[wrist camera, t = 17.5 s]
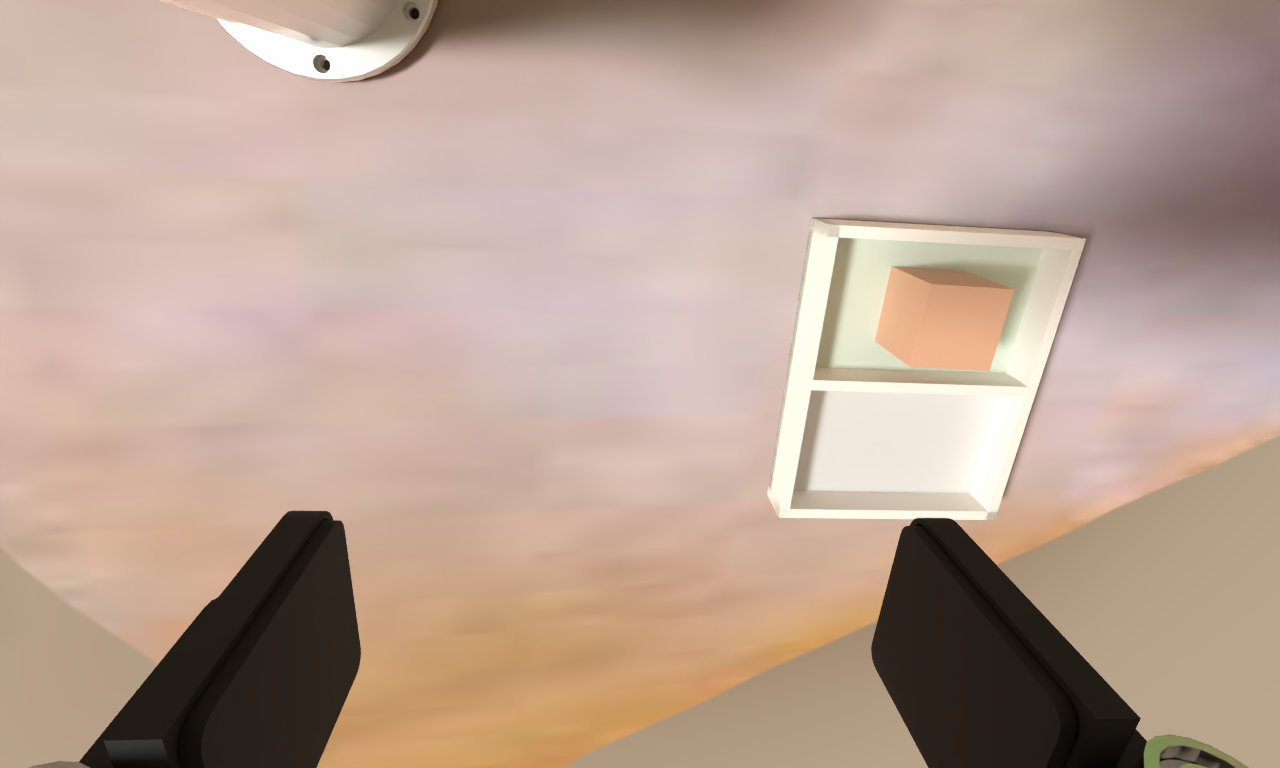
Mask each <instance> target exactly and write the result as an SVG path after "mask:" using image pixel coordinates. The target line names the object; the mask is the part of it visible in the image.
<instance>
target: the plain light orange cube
mask: <svg viewBox="0 0 1280 768" xmlns="http://www.w3.org/2000/svg"><path fill="white" fill-rule="evenodd" d="M1013 293H1014V289H1012V288H1010V287H1007V286H1004V285H1001V284H999V283H996V282H993V281H991V280H988V279H985V278H982V277H980V276H977V275H974V274H971V273H969V272H966V271H954V270H938V269H923V268H907V267H892V266H891V271H890V275H889V280H888V284H887V288H886V293H885V297H884V302H883V306H882V310H881V315H880V319H879V323H878V328H877V332H876V337H875V342H876V343H878V344H879V345H880V346H882V347H883V348H885V349H886V350H887V351H889V352H890V353H891V354H893V355H894V356H896V357H897V358H898V359H900V360H901V361H902V362H904V363H905V364H906V365H908V366H909V367H914V368H935V369H955V370H976V371H990V368H991V365H992V361H993V358H994V355H995V352H996V348H997V345H998V342H999V339H1000V335H1001V332H1002V329H1003V325H1004V322H1005V319H1006V316H1007V312H1008V309H1009V306H1010V303H1011V299H1012V296H1013Z"/></svg>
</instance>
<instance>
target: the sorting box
mask: <svg viewBox="0 0 1280 768" xmlns="http://www.w3.org/2000/svg"><path fill="white" fill-rule="evenodd" d="M1085 241H1086V239H1084V238H1080V237H1075V236H1070V235H1066V234H1061V233H1056V232H1050V231H1033V230H1015V229H998V228H980V227H962V226H945V225H927V224H910V223H892V222H875V221H857V220H839V219H822V218H812V220H811V226H810V233H809V239H808V245H807V251H806V257H805V263H804V270H803V276H802V282H801V288H800V294H799V301H798V307H797V313H796V319H795V325H794V332H793V338H792V344H791V350H790V356H789V363H788V369H787V375H786V381H785V387H784V394H783V400H782V406H781V412H780V418H779V424H778V431H777V437H776V443H775V449H774V455H773V462H772V468H771V474H770V480H769V486H768V493H767V495H768V497H769V499H770V501H771V503H772V505H773V507H774V509H775V511H776V513H777V515H778V517H779V518H863V519H916V518H950V519H956V520H995V518H996V514H997V511H998V508H999V505H1000V502H1001V499H1002V496H1003V493H1004V490H1005V487H1006V484H1007V481H1008V478H1009V475H1010V471H1011V468H1012V465H1013V462H1014V459H1015V456H1016V453H1017V450H1018V447H1019V444H1020V441H1021V438H1022V435H1023V432H1024V428H1025V425H1026V422H1027V419H1028V416H1029V413H1030V410H1031V407H1032V404H1033V401H1034V398H1035V395H1036V392H1037V389H1038V386H1039V382H1040V379H1041V376H1042V373H1043V370H1044V367H1045V364H1046V361H1047V358H1048V355H1049V352H1050V349H1051V346H1052V343H1053V339H1054V336H1055V333H1056V330H1057V327H1058V324H1059V321H1060V318H1061V315H1062V312H1063V309H1064V306H1065V303H1066V300H1067V297H1068V293H1069V290H1070V287H1071V284H1072V281H1073V278H1074V275H1075V272H1076V269H1077V266H1078V263H1079V260H1080V257H1081V254H1082V250H1083V247H1084V244H1085ZM891 266H892V267H907V268H923V269H938V270H954V271H966V272H969V273H971V274H974V275H977V276H980V277H982V278H985V279H988V280H991V281H993V282H996V283H999V284H1001V285H1004V286H1007V287H1010V288H1012V289H1014V293H1013V296H1012V299H1011V303H1010V306H1009V309H1008V312H1007V316H1006V319H1005V322H1004V325H1003V329H1002V332H1001V335H1000V339H999V342H998V345H997V348H996V352H995V355H994V358H993V361H992V365H991V368H990V371H976V370H955V369H935V368H914V367H909V366H908V365H906V364H905V363H904V362H902V361H901V360H900V359H898V358H897V357H896V356H894V355H893V354H891V353H890V352H889V351H887V350H886V349H885V348H883V347H882V346H880V345H879V344H878V343H876V342H875V337H876V332H877V328H878V323H879V319H880V315H881V310H882V306H883V302H884V297H885V293H886V288H887V284H888V280H889V275H890V271H891Z"/></svg>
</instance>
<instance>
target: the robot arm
mask: <svg viewBox="0 0 1280 768" xmlns="http://www.w3.org/2000/svg"><path fill="white" fill-rule="evenodd" d="M158 1H161V2H164V3H168V4H171V5H174V6H177V7H181V8H184V9H187V10H190V11H194V12H197V13H200V14H203V15H207V16H210V17H213V18H215V19H216V20H217V21H218V22H219V24H220V25H221V26H222V27H223V28H224V30H225V31H226V32H227V33H228V34H229V35H231V36H232V37H233V38H234V39H235V40H236V41H237V42H239V43H240V44H241V45H242V46H243V47H244V48H245V49H247V50H248V51H249V52H251V53H252V54H254V55H255V56H257V57H259V58H260V59H262V60H263V61H265V62H267V63H268V64H270V65H271V66H274V67H276V68H279V69H281V70H283V71H286V72H288V73H291V74H293V75H296V76H300V77H304V78H308V79H312V80H319V81H327V82H348V81H359V80H362V79H365V78H369V77H372V76H375V75H378V74H380V73H382V72H384V71H386V70H387V69H389V68H391V67H393V66H394V65H396V64H398V63H399V62H400V61H401V60H402V59H403V58H404V57H405V56H406V55H408V54H409V53H410V52H411V51H412V50H413V49H414V48H415V46H416V45H417V44H418V42H419V41H420V39H421V38H422V36H423V35H424V33H425V32H426V31H427V29H428V26H429V24H430V22H431V19H432V17H433V15H434V12H435V10H436V8H437V3H438V0H158ZM413 9H418V10H419V13H420V14H419V17H418V18H417V19H413V18H412V16H411V12H412V10H413ZM327 60H328V61H329V62H330V64H331V65H330V70H328V71H327V70H326V69H325V68H324V62H325V61H327ZM871 649H872V650H871V651H872V659H873V663H874V666H875V668H876V670H877V672H878V674H879V676H880V678H881V679H882V681H883V683H884V685H885V687H886V689H887V691H888V692H889V694H890V696H891V698H892V700H893V702H894V704H895V705H896V707H897V709H898V711H899V713H900V715H901V717H902V719H903V721H904V723H905V724H906V726H907V728H908V730H909V732H910V734H911V736H912V737H913V739H914V741H915V743H916V745H917V747H918V749H919V751H920V753H921V754H922V756H923V758H924V760H925V762H926V764H927V766H928V767H929V768H1248V767H1247V766H1245V765H1244V764H1242V763H1241V762H1239V761H1238V760H1236V759H1235V758H1233V757H1232V756H1230V755H1228V754H1226V753H1224V752H1222V751H1220V750H1218V749H1216V748H1214V747H1212V746H1210V745H1208V744H1205V743H1202V742H1199V741H1197V740H1193V739H1191V738H1188V737H1182V736H1176V735H1162V736H1155V737H1154V738H1152V739H1151V740H1149V741H1148V742H1147V741H1146V740H1145V739H1144V738H1143V737H1142V736H1141V734H1140V733H1139V732H1138V731H1137V730H1136V727H1137V725H1138V722H1139V721H1140V717H1139V716H1138V715H1137V714H1136V713H1135V712H1134V711H1133V710H1132V709H1131V708H1130V707H1129V706H1128V705H1127V703H1126V702H1125V701H1123V699H1121V697H1120V696H1119V695H1118V694H1117V693H1116V692H1115V691H1114V690H1113V689H1112V688H1111V687H1110V685H1108V683H1107V682H1106V681H1105V680H1104V679H1103V678H1102V677H1101V676H1100V675H1099V674H1098V673H1097V672H1096V671H1095V670H1094V668H1093V667H1091V665H1090V664H1089V663H1088V662H1087V661H1086V660H1085V659H1084V658H1083V657H1082V656H1081V655H1080V654H1079V652H1078V651H1077V650H1076V649H1075V648H1074V647H1073V646H1072V645H1071V644H1070V643H1069V642H1068V641H1067V640H1066V639H1065V638H1064V637H1063V636H1062V635H1061V633H1060V632H1059V631H1058V630H1057V629H1056V628H1055V627H1054V626H1053V625H1052V624H1051V623H1050V622H1049V621H1048V620H1047V618H1045V616H1044V615H1043V614H1042V613H1041V612H1040V611H1039V610H1038V609H1037V608H1036V607H1035V606H1034V605H1033V604H1032V603H1031V601H1030V600H1029V599H1028V598H1027V597H1026V596H1025V595H1024V594H1023V593H1022V592H1021V591H1020V590H1019V589H1018V588H1017V587H1016V585H1015V584H1014V583H1013V582H1012V581H1011V580H1010V579H1009V578H1008V577H1007V576H1006V575H1005V574H1004V573H1003V572H1002V571H1001V570H1000V569H999V567H998V566H997V565H996V564H995V563H994V562H993V561H992V560H991V559H990V558H989V557H988V556H987V555H986V554H985V552H984V551H983V550H982V549H981V548H980V547H979V546H978V545H977V544H976V543H975V542H974V541H973V540H972V539H971V538H970V537H969V535H968V534H967V533H966V532H965V531H964V530H963V529H962V528H961V527H960V526H959V525H958V524H957V523H956V522H955V521H954V520H952V519H950V518H916V519H914V520H913V521H912V522H911V524H910V526H906V527H904V528H903V530H902V532H901V535H900V539H899V542H898V546H897V550H896V554H895V558H894V561H893V565H892V569H891V573H890V577H889V581H888V584H887V588H886V592H885V596H884V600H883V603H882V607H881V611H880V615H879V619H878V623H877V627H876V630H875V634H874V638H873V642H872V648H871ZM360 657H361V647H360V640H359V633H358V625H357V618H356V611H355V603H354V596H353V589H352V581H351V574H350V567H349V559H348V552H347V545H346V537H345V530H344V525H343V523H342V522H341V521H335V520H333V518H332V516H331V514H330V513H329V512H327V511H289V512H287V513H286V514H285V515H284V516H283V517H282V519H281V520H280V521H279V522H278V524H277V525H276V526H275V527H274V529H273V530H272V531H271V532H270V534H269V535H268V536H267V537H266V539H265V540H264V541H263V542H262V544H261V545H260V546H259V547H258V549H257V550H256V551H255V552H254V553H253V555H252V556H251V557H250V558H249V560H248V561H247V562H246V563H245V565H244V566H243V567H242V568H241V570H240V571H239V572H238V573H237V575H236V576H235V577H234V578H233V580H232V581H231V582H230V583H229V585H228V586H227V587H226V588H225V590H224V591H223V592H222V593H221V595H220V596H219V597H218V598H216V599H214V600H212V601H211V602H210V603H209V604H208V605H207V606H206V607H205V608H204V609H203V610H202V611H201V613H200V614H199V615H198V616H197V617H196V619H195V620H194V621H193V622H192V624H191V625H190V626H189V627H188V628H187V630H186V631H185V632H184V633H183V635H182V636H181V637H180V638H179V640H178V641H177V642H176V643H175V644H174V646H173V647H172V648H171V649H170V651H169V652H168V653H167V654H166V656H165V657H164V658H163V659H162V660H161V662H160V663H159V664H158V665H157V667H156V668H155V669H154V670H153V672H152V673H151V674H150V675H149V676H148V678H147V679H146V680H145V681H144V683H143V684H142V685H141V686H140V688H139V689H138V690H137V691H136V692H135V694H134V695H133V696H132V698H131V699H130V700H129V701H128V703H127V704H126V705H125V706H124V707H123V708H122V710H121V711H120V712H119V713H118V715H117V716H116V717H115V718H114V719H113V721H112V722H111V723H110V724H109V726H108V727H107V728H106V730H105V731H104V732H103V733H102V734H101V736H100V737H99V738H98V739H97V740H96V742H95V743H94V744H93V745H92V747H91V748H90V749H89V750H88V752H87V753H86V754H85V755H84V756H83V758H82V759H81V760H80V761H79V762H63V761H58V762H52V763H48V764H42V765H37V766H32V767H30V768H316V767H317V765H318V763H319V760H320V758H321V756H322V754H323V751H324V749H325V747H326V744H327V742H328V740H329V737H330V735H331V733H332V730H333V728H334V726H335V723H336V721H337V719H338V716H339V714H340V712H341V709H342V707H343V705H344V703H345V700H346V698H347V696H348V693H349V691H350V689H351V686H352V684H353V682H354V679H355V677H356V675H357V672H358V668H359V664H360Z"/></svg>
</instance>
